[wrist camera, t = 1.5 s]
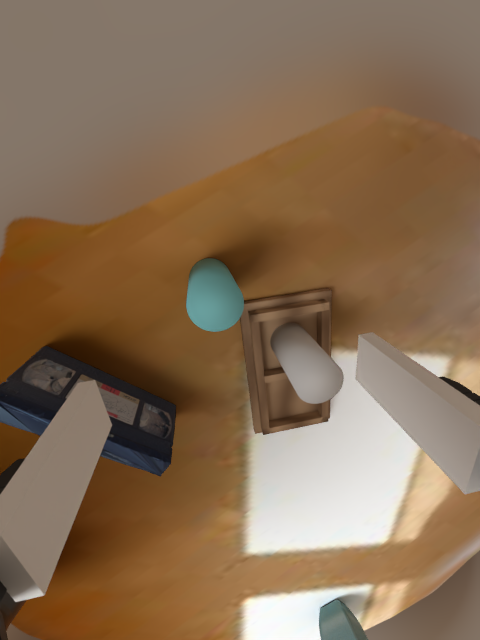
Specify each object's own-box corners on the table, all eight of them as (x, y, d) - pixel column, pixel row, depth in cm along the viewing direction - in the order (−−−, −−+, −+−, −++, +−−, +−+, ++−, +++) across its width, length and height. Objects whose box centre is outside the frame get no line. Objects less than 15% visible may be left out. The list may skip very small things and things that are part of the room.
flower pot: (355, 603, 68) (377, 656, 60) (326, 619, 69) (343, 674, 61) (339, 591, 65) (360, 646, 57) (309, 609, 66) (325, 665, 58)
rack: (253, 428, 42) (257, 441, 40) (238, 302, 34) (241, 309, 32) (326, 413, 43) (334, 425, 41) (328, 288, 35) (337, 293, 33)
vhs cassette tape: (178, 404, 39) (172, 464, 30) (166, 419, 39) (157, 481, 30) (46, 341, 33) (-12, 391, 23) (35, 359, 33) (-26, 415, 24)
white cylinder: (271, 359, 37) (296, 407, 28) (268, 326, 35) (294, 366, 26) (306, 352, 37) (342, 398, 28) (305, 319, 35) (344, 357, 26)
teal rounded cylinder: (193, 301, 33) (192, 335, 24) (185, 261, 31) (181, 281, 22) (233, 295, 34) (246, 326, 25) (227, 255, 32) (240, 272, 23)
